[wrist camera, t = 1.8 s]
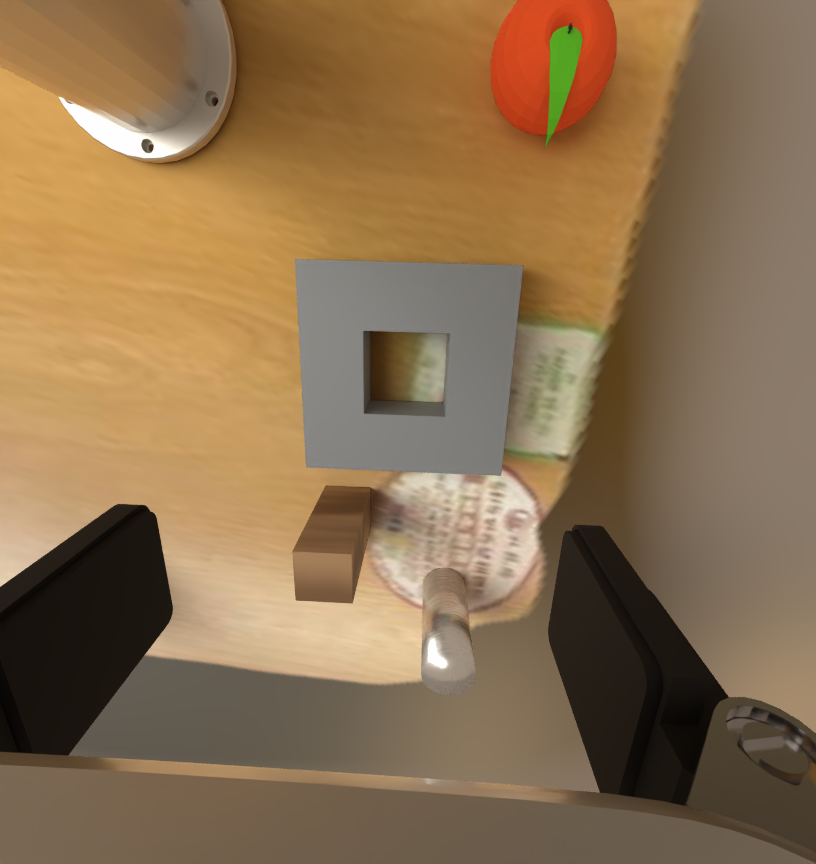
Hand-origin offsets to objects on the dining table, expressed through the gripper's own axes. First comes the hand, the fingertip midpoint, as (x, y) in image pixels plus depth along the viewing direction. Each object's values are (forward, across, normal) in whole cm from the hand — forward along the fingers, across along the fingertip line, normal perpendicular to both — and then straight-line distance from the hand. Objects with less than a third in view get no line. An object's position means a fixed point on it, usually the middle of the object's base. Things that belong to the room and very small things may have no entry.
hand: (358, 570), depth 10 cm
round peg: (+26, -4, +21) cm, 34 cm away
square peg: (+26, +5, +13) cm, 30 cm away
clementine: (+26, -8, -18) cm, 33 cm away
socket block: (+26, 0, 0) cm, 26 cm away
